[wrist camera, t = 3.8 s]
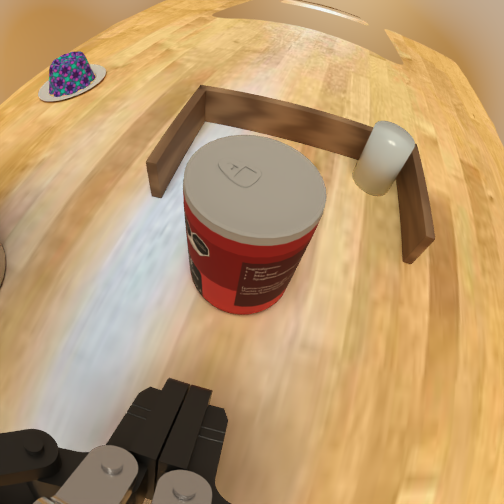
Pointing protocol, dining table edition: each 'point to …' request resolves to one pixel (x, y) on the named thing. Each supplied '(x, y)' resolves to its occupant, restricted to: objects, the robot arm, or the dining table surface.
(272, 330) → the dining table surface
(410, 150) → the grey rounded capsule
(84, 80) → the patterned hat
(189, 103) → the u-shaped frame
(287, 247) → the canned food
